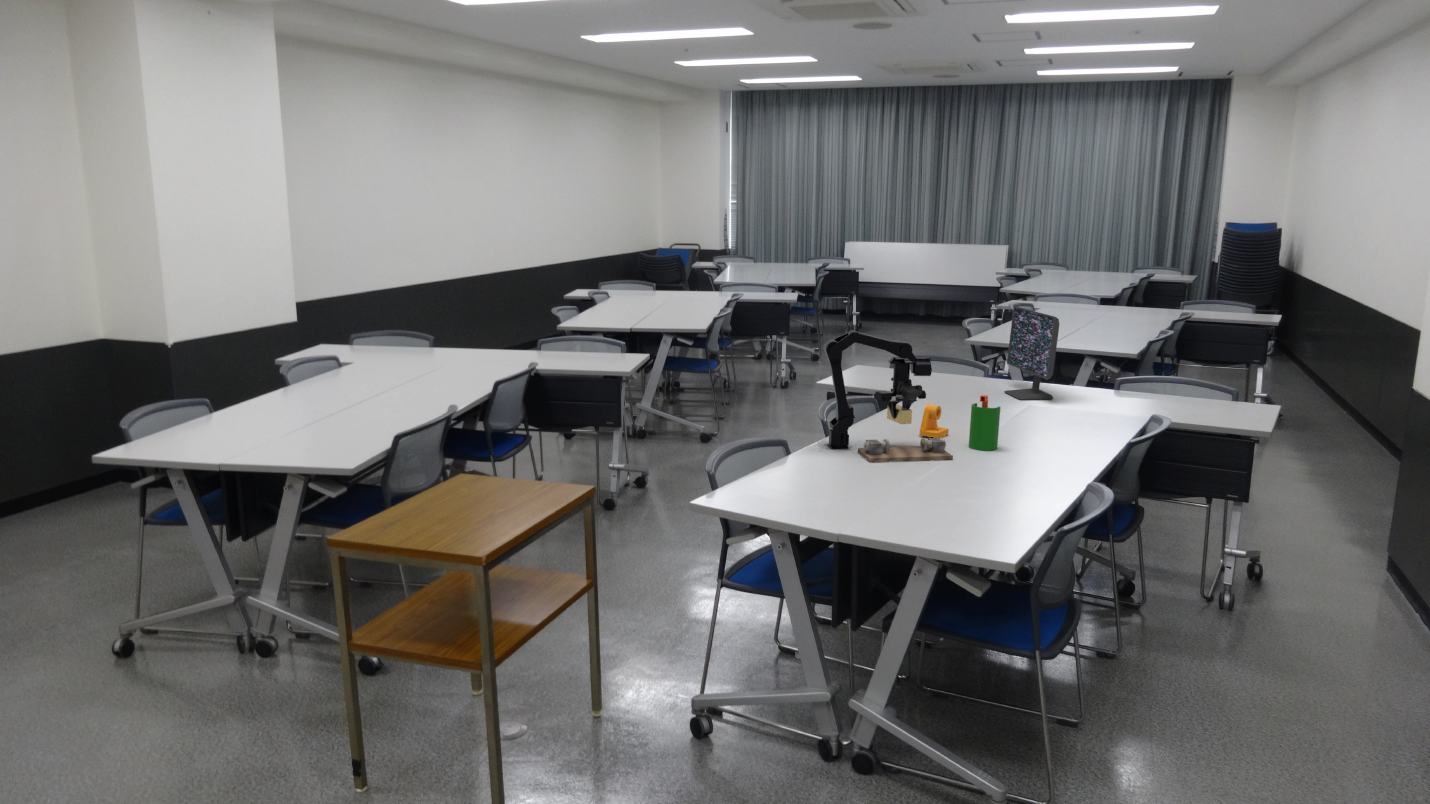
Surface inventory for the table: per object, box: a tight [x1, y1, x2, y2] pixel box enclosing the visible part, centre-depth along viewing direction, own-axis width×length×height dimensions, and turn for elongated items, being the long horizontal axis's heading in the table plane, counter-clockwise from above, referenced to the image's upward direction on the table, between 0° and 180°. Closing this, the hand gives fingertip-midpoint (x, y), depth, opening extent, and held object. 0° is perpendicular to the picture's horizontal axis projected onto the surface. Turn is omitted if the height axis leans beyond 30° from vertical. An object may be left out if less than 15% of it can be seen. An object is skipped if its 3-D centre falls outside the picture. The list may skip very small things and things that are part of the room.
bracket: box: [919, 404, 950, 439], centre depth 364 cm, size 11×7×12 cm, turn 142°
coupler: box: [886, 403, 913, 425], centre depth 345 cm, size 10×4×5 cm, turn 22°
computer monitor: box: [1003, 305, 1060, 401], centre depth 440 cm, size 44×16×40 cm, turn 6°
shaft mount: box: [857, 437, 954, 463], centre depth 335 cm, size 30×14×6 cm, turn 99°
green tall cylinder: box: [968, 394, 1001, 451], centre depth 347 cm, size 10×9×20 cm
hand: (899, 418), depth 345 cm, fingers closed on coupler, 4 cm apart
